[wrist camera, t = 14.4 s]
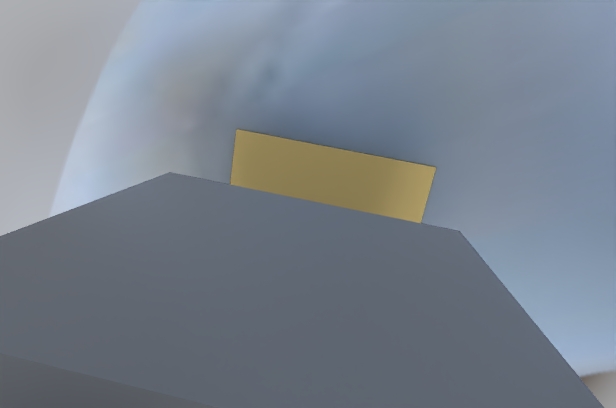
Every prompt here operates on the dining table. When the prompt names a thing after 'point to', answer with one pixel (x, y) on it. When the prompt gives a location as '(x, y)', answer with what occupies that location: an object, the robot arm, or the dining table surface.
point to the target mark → (331, 175)
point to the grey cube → (261, 309)
